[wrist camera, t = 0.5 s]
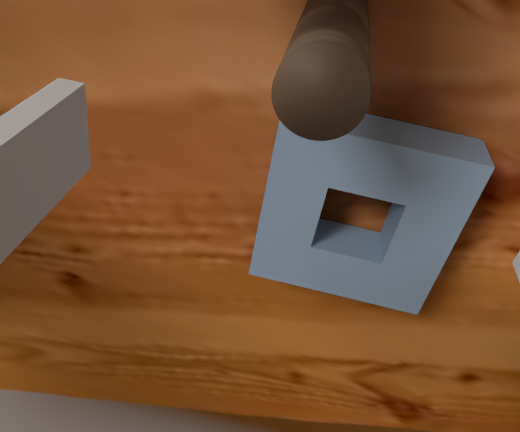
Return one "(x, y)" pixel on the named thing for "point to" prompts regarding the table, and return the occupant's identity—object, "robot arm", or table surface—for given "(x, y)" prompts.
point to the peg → (325, 71)
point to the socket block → (374, 186)
